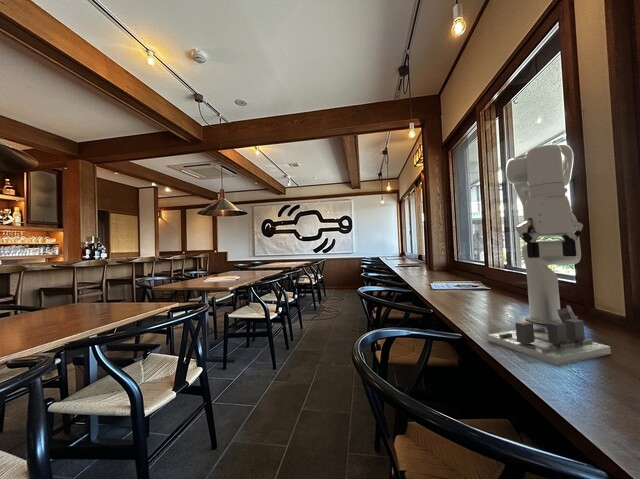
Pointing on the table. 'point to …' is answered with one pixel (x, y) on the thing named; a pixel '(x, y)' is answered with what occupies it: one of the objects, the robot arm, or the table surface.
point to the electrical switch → (566, 314)
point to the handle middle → (557, 333)
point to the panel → (551, 347)
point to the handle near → (575, 329)
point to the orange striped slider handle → (525, 332)
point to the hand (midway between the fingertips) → (551, 257)
